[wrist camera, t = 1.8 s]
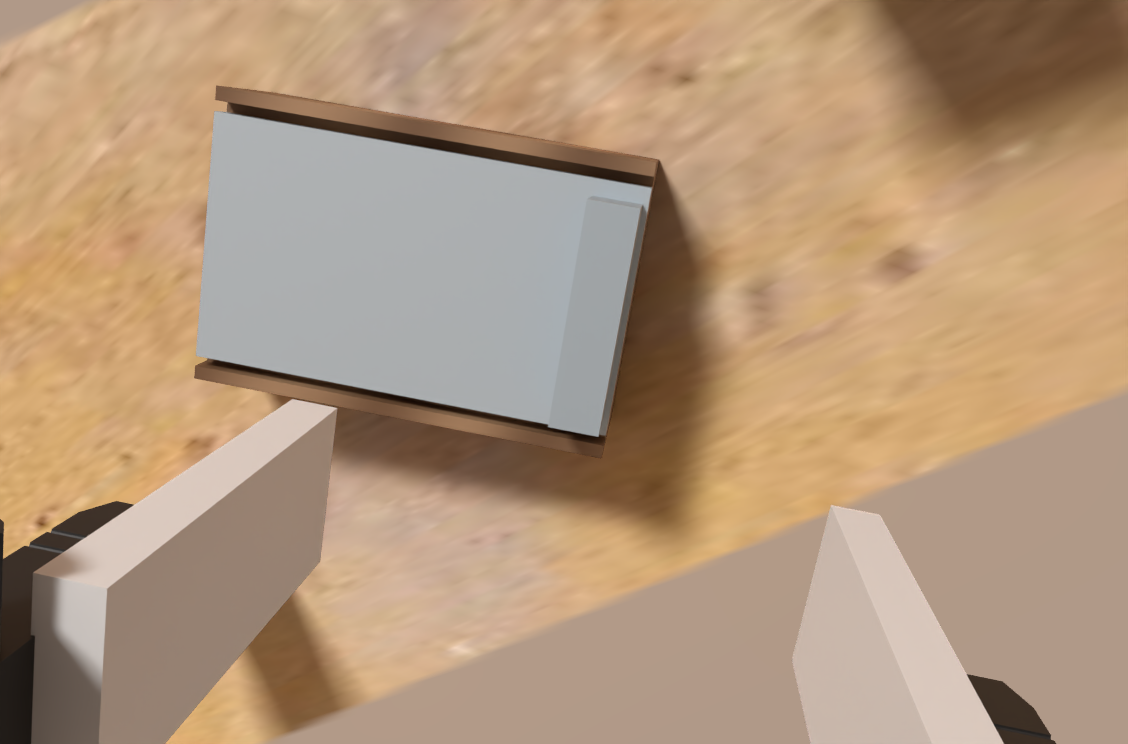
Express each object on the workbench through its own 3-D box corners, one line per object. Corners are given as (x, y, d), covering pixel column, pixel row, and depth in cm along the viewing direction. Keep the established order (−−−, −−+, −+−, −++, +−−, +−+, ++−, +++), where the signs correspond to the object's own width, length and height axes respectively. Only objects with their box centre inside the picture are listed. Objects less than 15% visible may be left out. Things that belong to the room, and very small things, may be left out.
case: (659, 159, 39) (656, 162, 34) (610, 421, 41) (601, 458, 37) (272, 92, 40) (216, 85, 35) (249, 351, 42) (194, 377, 38)
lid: (652, 186, 35) (649, 191, 32) (607, 428, 37) (601, 453, 34) (226, 112, 36) (184, 109, 33) (208, 350, 38) (167, 368, 35)
